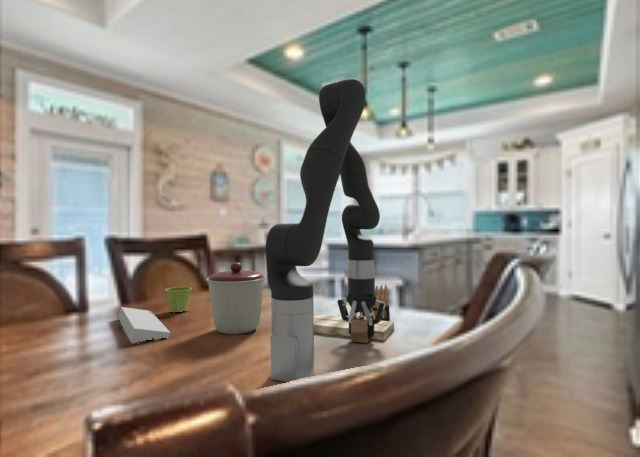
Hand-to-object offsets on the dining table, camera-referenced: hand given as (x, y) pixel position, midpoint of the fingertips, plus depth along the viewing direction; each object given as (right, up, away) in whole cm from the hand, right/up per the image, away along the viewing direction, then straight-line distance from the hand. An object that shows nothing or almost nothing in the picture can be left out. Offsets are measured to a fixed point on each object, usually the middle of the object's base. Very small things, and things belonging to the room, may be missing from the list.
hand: (361, 336), depth 114 cm
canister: (-37, -2, +13) cm, 40 cm away
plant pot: (-65, -1, +40) cm, 76 cm away
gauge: (+1, -1, +3) cm, 4 cm away
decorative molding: (-69, -3, +17) cm, 71 cm away
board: (-4, -1, +12) cm, 12 cm away
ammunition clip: (+7, -1, +21) cm, 22 cm away
